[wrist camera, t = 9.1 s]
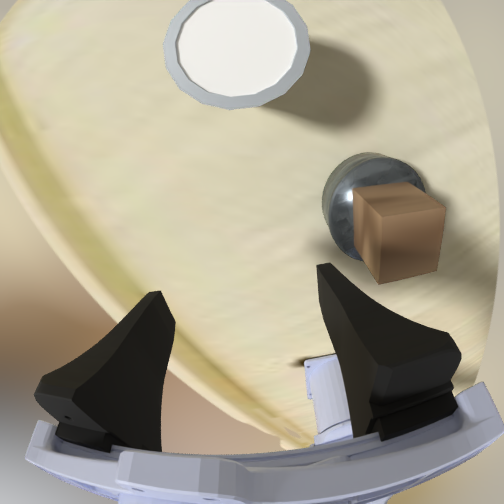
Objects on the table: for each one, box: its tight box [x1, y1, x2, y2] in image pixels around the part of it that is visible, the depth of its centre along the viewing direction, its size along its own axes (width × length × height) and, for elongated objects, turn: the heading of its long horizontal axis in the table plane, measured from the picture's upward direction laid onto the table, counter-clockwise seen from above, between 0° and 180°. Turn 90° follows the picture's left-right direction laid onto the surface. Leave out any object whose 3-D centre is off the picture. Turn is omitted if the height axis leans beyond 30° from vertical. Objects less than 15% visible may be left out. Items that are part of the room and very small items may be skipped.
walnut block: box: [352, 182, 446, 285], centre depth 17 cm, size 4×4×5 cm
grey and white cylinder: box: [163, 0, 311, 110], centre depth 13 cm, size 7×7×7 cm
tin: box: [322, 152, 426, 261], centre depth 20 cm, size 8×8×3 cm
